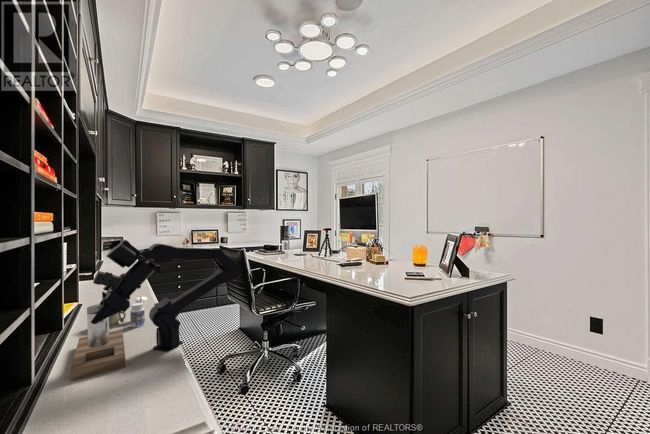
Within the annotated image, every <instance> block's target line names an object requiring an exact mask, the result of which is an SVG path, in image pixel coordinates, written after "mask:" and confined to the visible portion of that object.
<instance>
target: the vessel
mask: <svg viewBox="0 0 650 434" xmlns="http://www.w3.org/2000/svg"><path fill="white" fill-rule="evenodd" d="M121 314H123V317H122V315H121ZM126 315H127V314H126V311H125V312H123V311H121V312H118V313H116V314H114V315H112V316H110V317H109V330H110V329H113V328H116V327H119V326H120V324H121V323H124V322H125V319H126Z"/></svg>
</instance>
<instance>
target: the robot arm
mask: <svg viewBox="0 0 650 434" xmlns="http://www.w3.org/2000/svg"><path fill="white" fill-rule="evenodd" d="M139 256H141V257H142V258H144V259H149V260H146V261H145V260H144V259H142V258H141V257H139ZM106 257H107V258H108V259H110V260H111V261H112V263H115V264H116V265H118V266H119V267H120V268H123V269H124V268H125V267H127V268H128V270H127V271H125V273H124V272H122V273H121V274H120V275H119V276H118V275H116V274H113V273H112V272H108V271H106V272H104V271H101V270H98V271H97V273H96V274H95V277H94V278H93V280H92V282H93V284H95V285H97V286H99V285H100V286H101V285H102V286H104V287H103V288H102V289H103V290H102V292H101V296H102V297H101V298H102V299H101V301H100V302H99V304H103V306H102V307H101V308H100V310H99V311H98V312H97V314H96V315H95V317H94V318H93V319H92V321H91V323H92V324H96V323H98V322H100V321H102V320H103V319H105V318H107V317H110V316H112V315H114V314H116V313H118V312H121V311H123V312H125V313H126V311H127V310H129V308H131V302H130V299H131V296H132V295H133V294H134V293H135V292H136V291H137V290H140V289H141V288H142V284H143V283H144V282H145V281H147V279H148V278H150V277H151V275H152V274H153V273H154V272H155V273H157V274H158V275H161V274H162V266H161V265H160V264H156V263H166V262H173V261H177V260H213V262H214V263H215V264H216V266H217V267H218V268H216V270H215V271H214V272H213V274H211V275H210V276H208V277H207V278H205V279H203V280H202V281H200V282H199V283H197V284H196V285H194V286H193V287H191V288H189V289H188V290H186V291H184V292H183V293H182V294H180V295H178V296H177V297H175V298H172V299H169V298H168V297H167V296H165V297H164V298H162V299H161V300H160V301H159V302H157V303H154V304H153V305H154V306H152V307H151V309H150V311H149V313H148V316H149V320H150V321H151V323H152V324H153V325H154V326H156V332H155V334H156V335H155V336H156V339H155V340H156V345H155V346H153V347H152V349H153V350H159V351H165V352H170V351H172V350H174V349H175V348H177V347H179V346H180V345H182V344H184V341H182V340H180V326H181V322H180V321H179V319H178V318H177V317H178V316H179V315H180V313H181V312H182V311H184V309H185V308H187V307H188V306H191V305H192V304H193V303H194V302H196V301H197V300H199V299H200V298H202V297H204V296H205V295H207V294H208V293H209V292H211V291H213V290H214V289H216V288H217V287H219V286H221V285H223V284H227V283H230V282H233V281H235V280H237V279H238V278H240V277H241V274H242V267H241V266H240V264H238V263H236V262H234V261H233V260H232V259H231V258H230V257H229V256H228V255H227V254H226V253H225V252H224V251H223V250H222V249H221V248H217V247H212V248H211V247H210V248H208V247H207V248H206V247H179V246H175V245H169V244H164V243H159V242H157V243H152V245H150V246H149V247H146V248H142V249H138V248H136V247H134V245H133V244H131V243H130V241H128V240H127V239H123V241H122V242H119V244H117V245H116V246H114V247H112V249H111V250H109V252H108V253H107V254H106ZM151 260H152V261H151ZM153 261H154V262H156V263H154V262H153ZM104 291H105V292H104Z"/></svg>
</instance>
